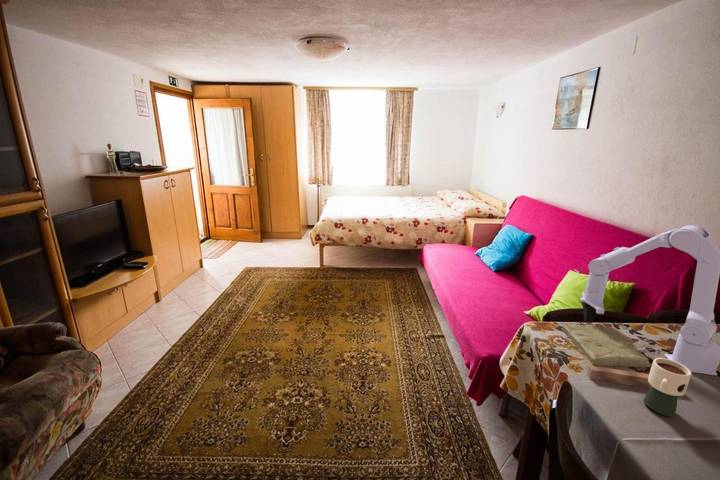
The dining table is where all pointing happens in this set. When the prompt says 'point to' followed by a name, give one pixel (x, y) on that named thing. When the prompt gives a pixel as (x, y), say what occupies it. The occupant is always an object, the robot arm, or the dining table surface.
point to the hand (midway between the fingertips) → (587, 321)
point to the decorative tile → (605, 346)
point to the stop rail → (618, 376)
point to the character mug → (666, 385)
